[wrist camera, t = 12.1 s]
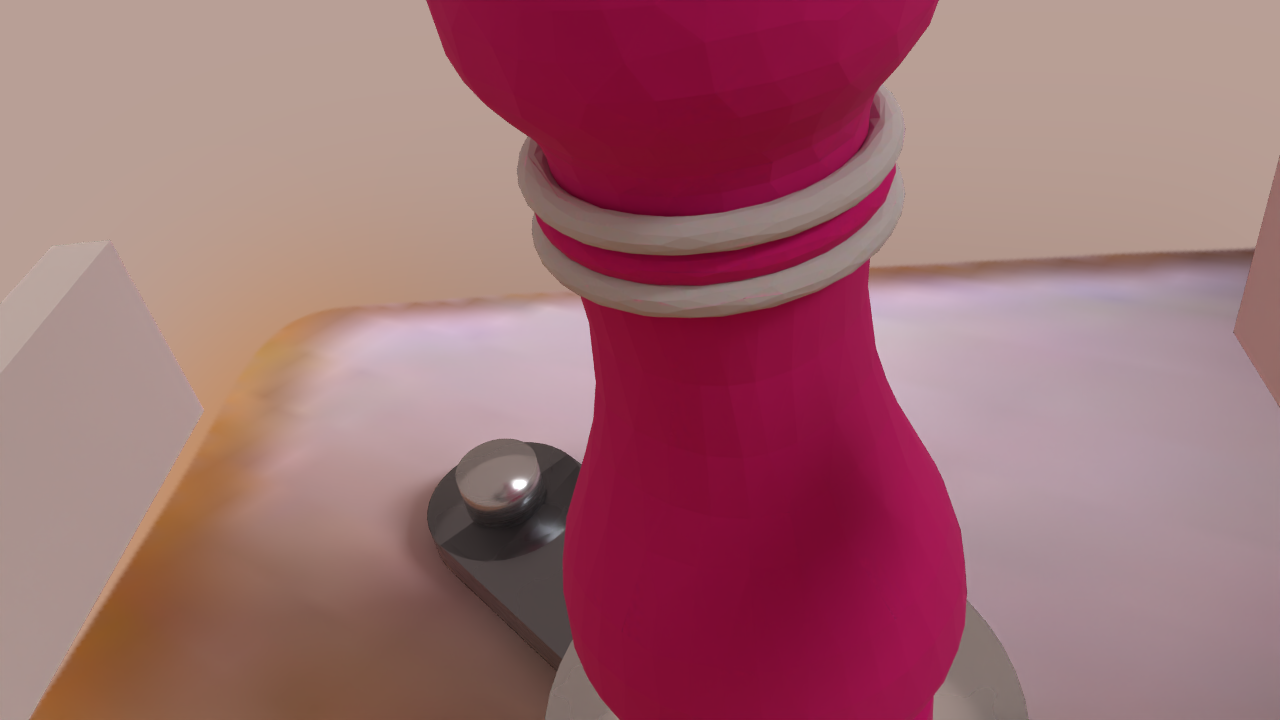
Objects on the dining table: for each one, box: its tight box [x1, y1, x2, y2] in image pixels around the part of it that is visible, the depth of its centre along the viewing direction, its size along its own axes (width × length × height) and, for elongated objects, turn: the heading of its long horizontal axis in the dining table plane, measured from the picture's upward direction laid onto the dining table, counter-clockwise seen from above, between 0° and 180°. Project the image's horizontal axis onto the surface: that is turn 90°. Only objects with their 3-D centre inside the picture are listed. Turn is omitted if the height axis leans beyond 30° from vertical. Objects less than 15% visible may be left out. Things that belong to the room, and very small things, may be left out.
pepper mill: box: [426, 0, 967, 720], centre depth 16 cm, size 7×7×20 cm
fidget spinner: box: [427, 439, 1029, 720], centre depth 22 cm, size 24×10×2 cm, turn 42°
